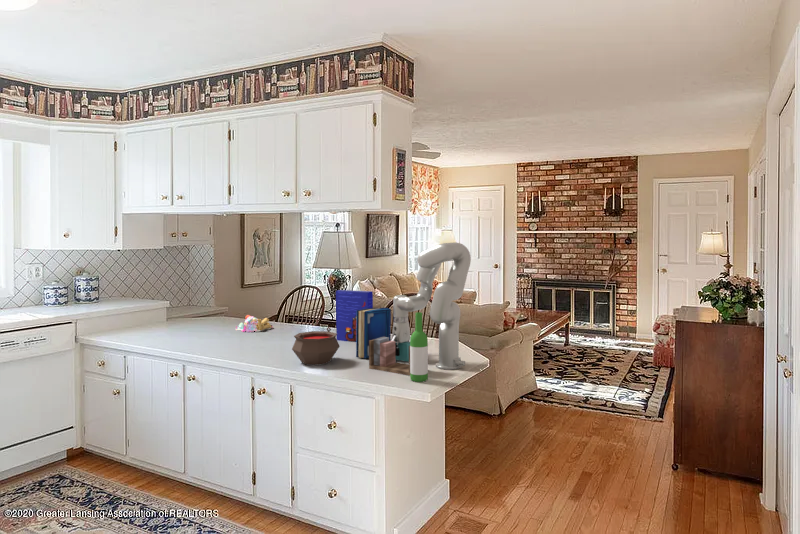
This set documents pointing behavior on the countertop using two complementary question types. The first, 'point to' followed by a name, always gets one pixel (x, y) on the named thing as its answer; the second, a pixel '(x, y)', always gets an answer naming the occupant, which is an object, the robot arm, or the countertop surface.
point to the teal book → (403, 351)
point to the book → (371, 328)
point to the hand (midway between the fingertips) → (400, 353)
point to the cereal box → (350, 312)
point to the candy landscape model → (254, 324)
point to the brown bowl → (315, 347)
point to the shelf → (386, 356)
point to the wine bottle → (418, 352)
